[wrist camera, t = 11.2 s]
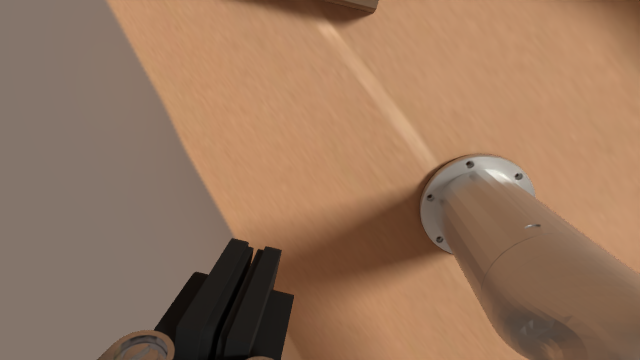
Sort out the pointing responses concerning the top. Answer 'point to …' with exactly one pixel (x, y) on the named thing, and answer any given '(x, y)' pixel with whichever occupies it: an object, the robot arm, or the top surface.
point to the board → (358, 4)
